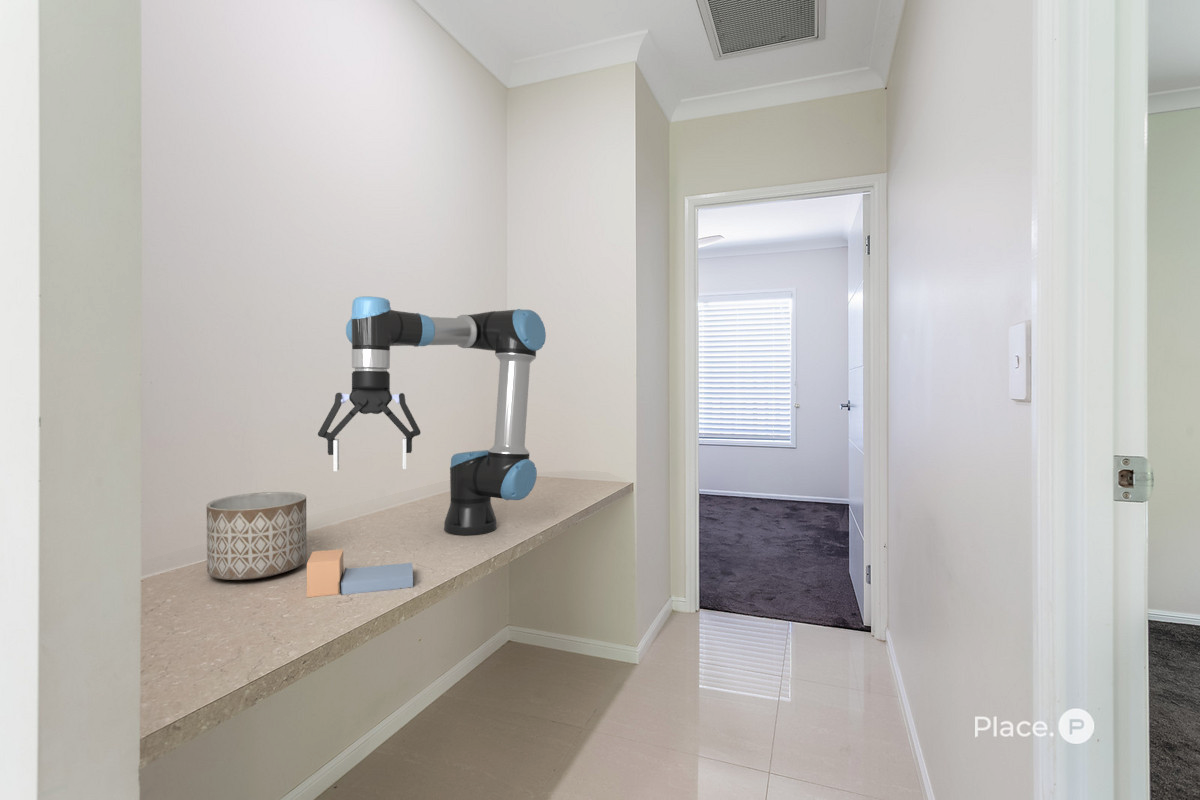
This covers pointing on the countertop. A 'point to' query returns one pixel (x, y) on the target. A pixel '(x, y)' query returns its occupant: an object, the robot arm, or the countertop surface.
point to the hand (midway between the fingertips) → (370, 469)
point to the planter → (256, 535)
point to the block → (324, 573)
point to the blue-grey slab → (377, 578)
